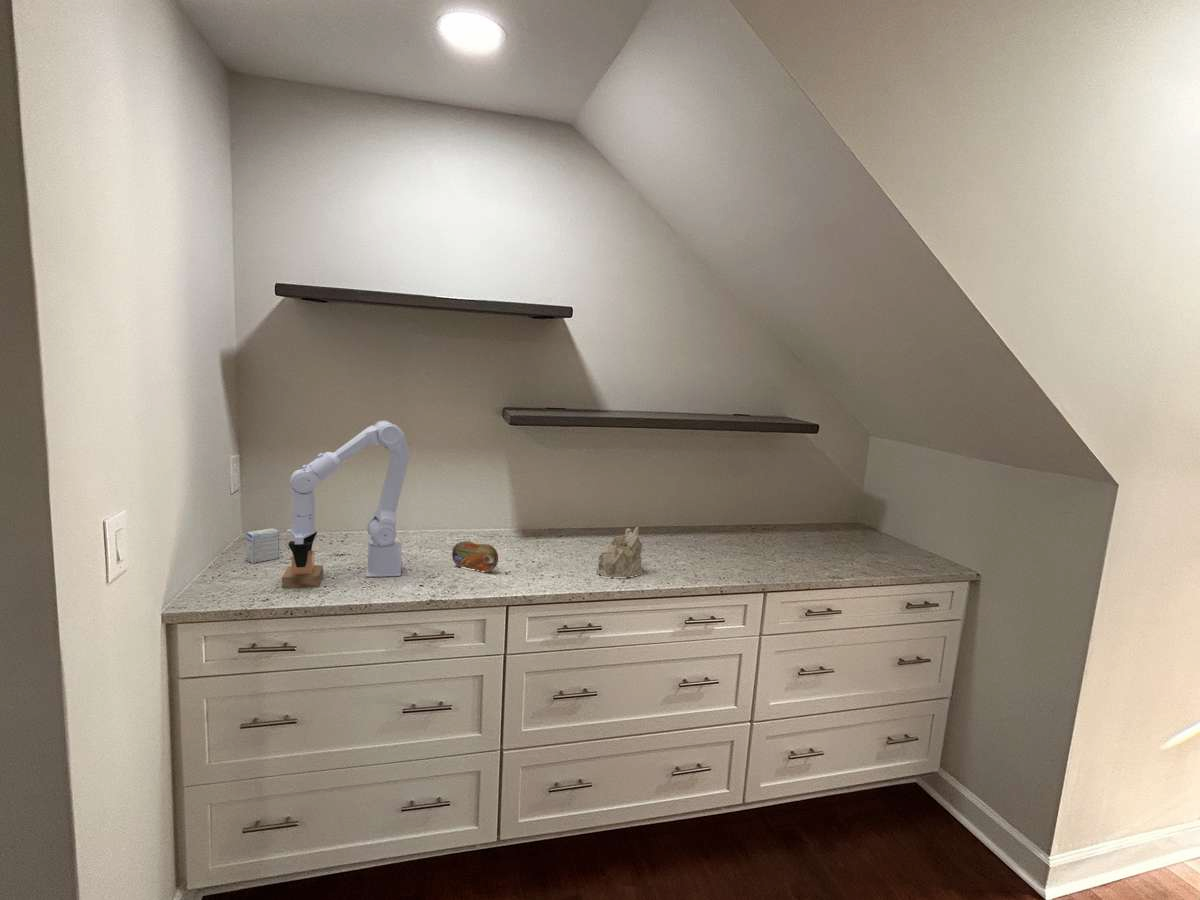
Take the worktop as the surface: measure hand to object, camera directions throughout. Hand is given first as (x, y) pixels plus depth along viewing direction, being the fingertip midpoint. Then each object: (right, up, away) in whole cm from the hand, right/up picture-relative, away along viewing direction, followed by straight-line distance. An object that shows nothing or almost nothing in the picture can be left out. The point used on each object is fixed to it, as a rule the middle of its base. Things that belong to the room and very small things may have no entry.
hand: (303, 562), depth 172 cm
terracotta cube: (0, -2, 0) cm, 2 cm away
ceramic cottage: (+86, -8, +27) cm, 91 cm away
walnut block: (0, -5, +1) cm, 5 cm away
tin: (+43, -6, +19) cm, 48 cm away
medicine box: (-20, -2, +16) cm, 26 cm away
